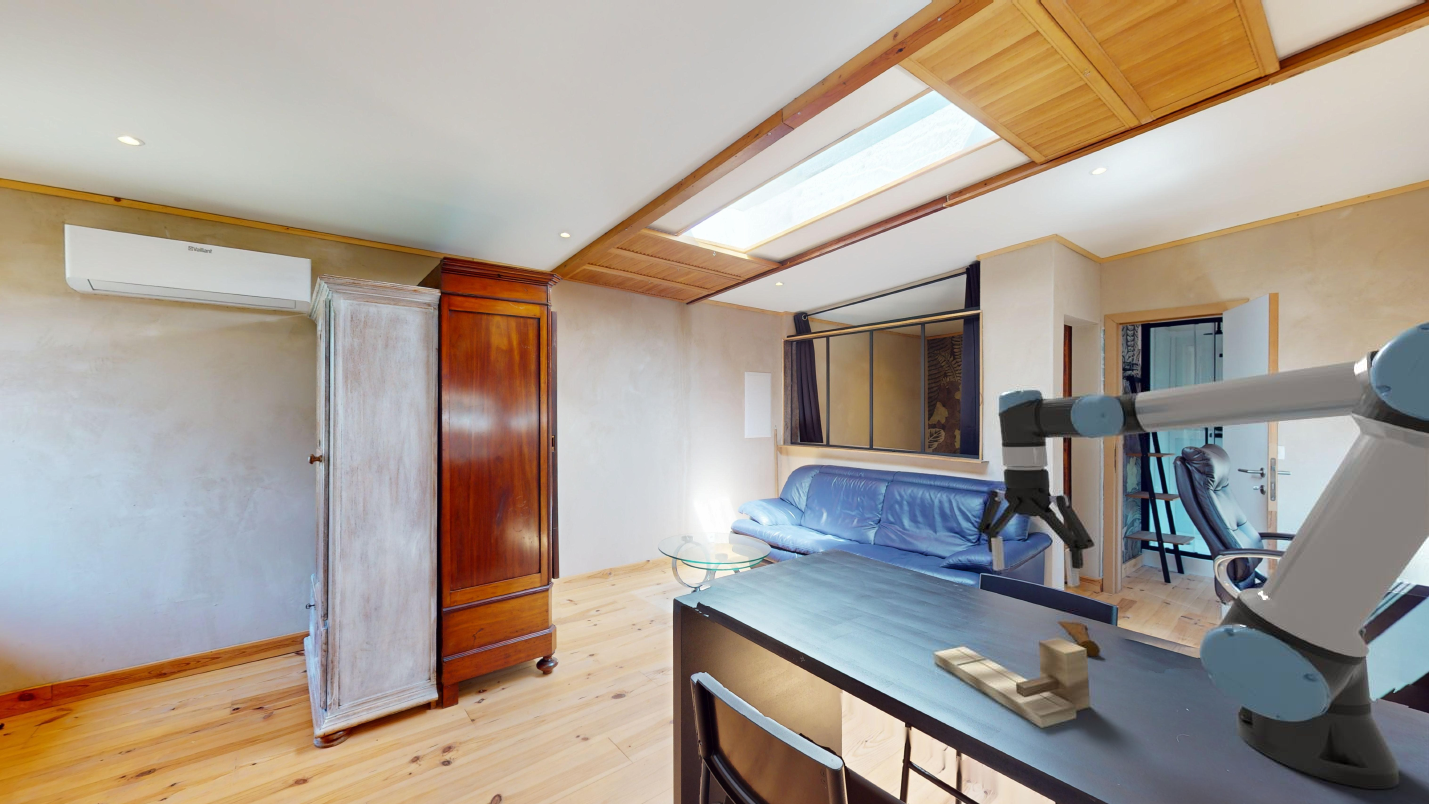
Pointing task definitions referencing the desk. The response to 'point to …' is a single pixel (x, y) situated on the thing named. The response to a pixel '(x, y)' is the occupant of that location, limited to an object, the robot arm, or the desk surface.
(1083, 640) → the primitive tool
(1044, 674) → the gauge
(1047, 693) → the board
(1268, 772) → the desk surface
